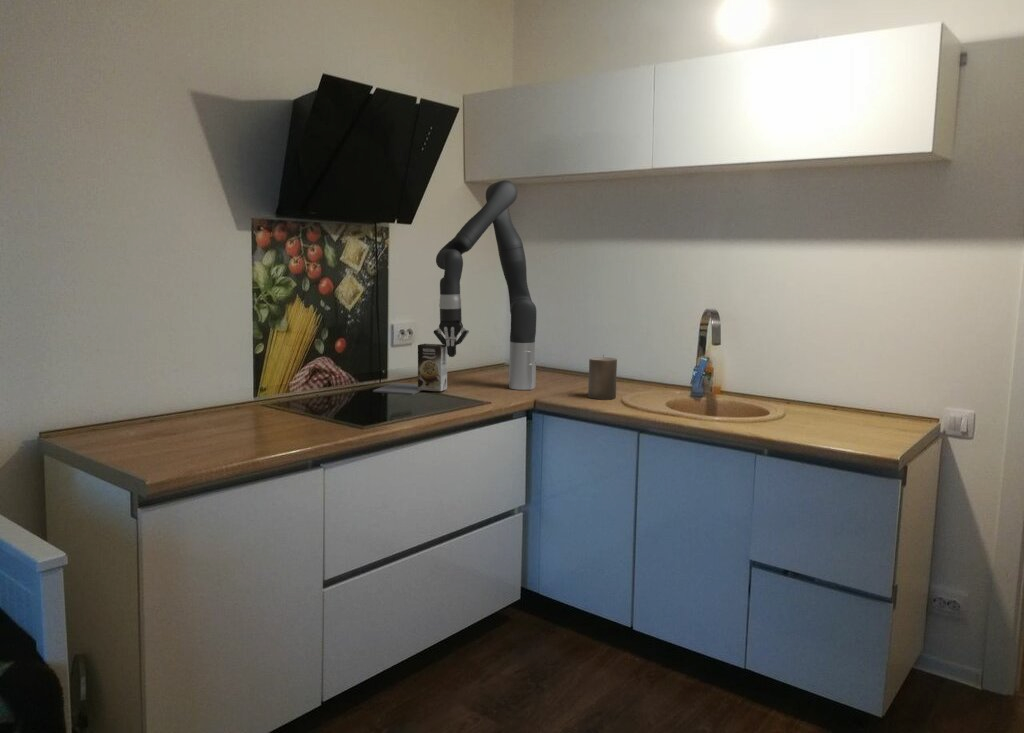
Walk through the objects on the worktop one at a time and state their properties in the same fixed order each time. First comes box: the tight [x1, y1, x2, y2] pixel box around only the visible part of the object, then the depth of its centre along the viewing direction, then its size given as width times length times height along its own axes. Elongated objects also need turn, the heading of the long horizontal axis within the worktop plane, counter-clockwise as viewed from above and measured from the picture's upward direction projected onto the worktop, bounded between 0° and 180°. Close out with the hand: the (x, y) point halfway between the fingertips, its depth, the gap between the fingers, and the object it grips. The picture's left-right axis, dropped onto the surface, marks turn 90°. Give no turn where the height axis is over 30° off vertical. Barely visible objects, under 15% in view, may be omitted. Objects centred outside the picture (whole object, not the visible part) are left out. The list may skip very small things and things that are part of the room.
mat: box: [372, 382, 424, 396], centre depth 272 cm, size 15×18×1 cm
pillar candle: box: [587, 354, 618, 401], centre depth 263 cm, size 10×10×15 cm
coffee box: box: [417, 343, 448, 392], centre depth 268 cm, size 9×6×16 cm
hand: (451, 356), depth 266 cm, fingers closed
